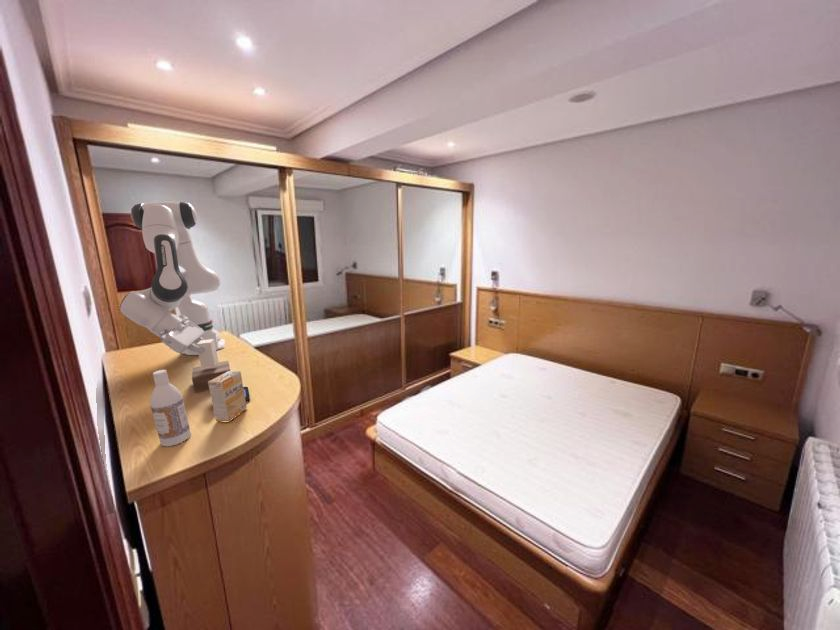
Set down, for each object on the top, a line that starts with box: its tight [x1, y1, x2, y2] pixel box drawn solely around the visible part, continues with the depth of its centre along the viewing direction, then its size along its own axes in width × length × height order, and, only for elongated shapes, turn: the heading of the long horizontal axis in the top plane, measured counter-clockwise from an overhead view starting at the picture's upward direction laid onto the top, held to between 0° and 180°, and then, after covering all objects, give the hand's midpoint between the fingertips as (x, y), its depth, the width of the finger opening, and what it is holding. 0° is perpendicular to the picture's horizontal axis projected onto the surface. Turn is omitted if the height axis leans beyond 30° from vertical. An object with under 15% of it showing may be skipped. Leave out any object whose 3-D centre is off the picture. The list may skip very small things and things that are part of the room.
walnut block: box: [191, 360, 231, 394], centre depth 130 cm, size 12×12×6 cm
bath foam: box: [149, 369, 192, 447], centre depth 92 cm, size 7×7×20 cm
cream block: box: [197, 339, 219, 367], centre depth 128 cm, size 4×4×9 cm
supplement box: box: [208, 370, 248, 422], centre depth 105 cm, size 8×5×13 cm, turn 168°
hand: (205, 349), depth 128 cm, fingers closed on cream block, 4 cm apart
